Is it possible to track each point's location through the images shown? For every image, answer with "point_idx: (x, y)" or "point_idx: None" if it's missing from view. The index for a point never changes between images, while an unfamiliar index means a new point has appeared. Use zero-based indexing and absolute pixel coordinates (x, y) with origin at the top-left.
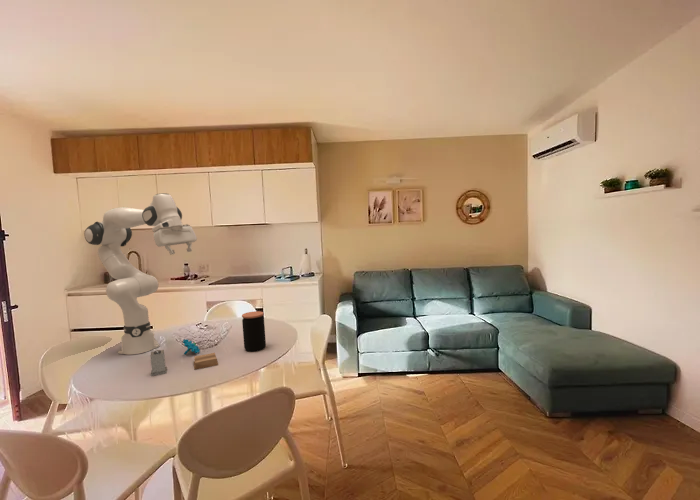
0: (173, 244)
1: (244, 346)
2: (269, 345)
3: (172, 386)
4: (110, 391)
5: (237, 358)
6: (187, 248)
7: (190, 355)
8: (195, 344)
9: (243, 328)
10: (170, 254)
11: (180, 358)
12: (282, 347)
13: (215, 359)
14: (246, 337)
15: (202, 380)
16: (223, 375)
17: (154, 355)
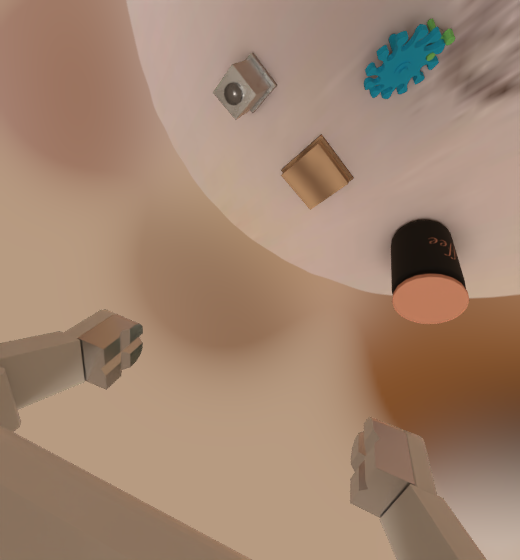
0: (74, 483)
1: (405, 228)
2: None
3: (214, 177)
4: (152, 52)
5: (352, 227)
6: (367, 483)
7: None
8: (439, 52)
9: (403, 259)
10: (107, 312)
11: (353, 56)
12: None
13: (308, 207)
14: (395, 253)
15: (246, 214)
16: (271, 238)
17: (221, 100)
